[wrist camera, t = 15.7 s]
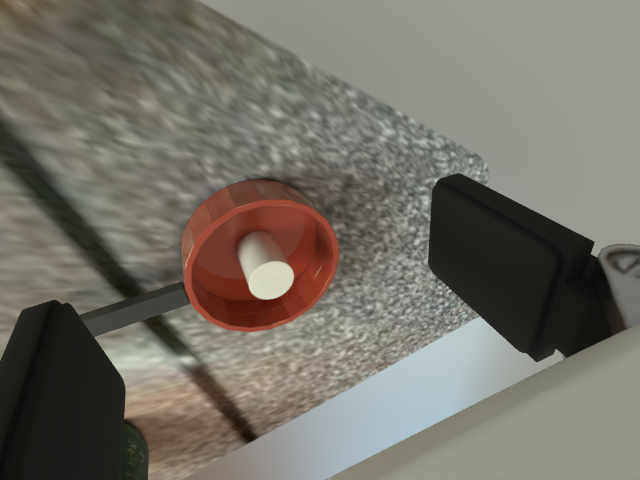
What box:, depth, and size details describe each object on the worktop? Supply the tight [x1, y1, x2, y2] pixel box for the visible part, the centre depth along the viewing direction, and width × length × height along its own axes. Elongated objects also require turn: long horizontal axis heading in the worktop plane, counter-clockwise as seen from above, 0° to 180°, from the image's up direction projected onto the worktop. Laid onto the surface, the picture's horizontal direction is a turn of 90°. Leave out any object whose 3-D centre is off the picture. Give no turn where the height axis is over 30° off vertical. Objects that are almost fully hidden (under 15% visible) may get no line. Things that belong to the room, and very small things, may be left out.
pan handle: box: [79, 282, 190, 337], centre depth 33 cm, size 2×10×1 cm, turn 97°
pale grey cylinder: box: [237, 231, 294, 300], centre depth 37 cm, size 4×4×6 cm
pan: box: [181, 180, 339, 332], centre depth 38 cm, size 15×15×5 cm
